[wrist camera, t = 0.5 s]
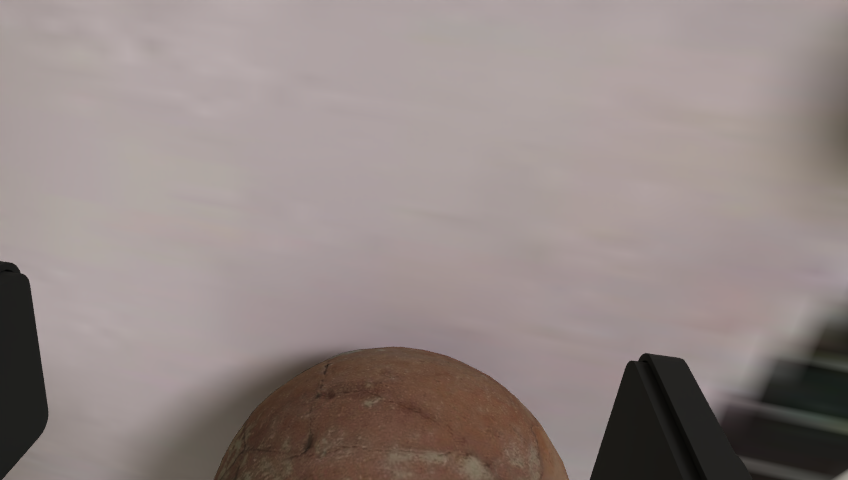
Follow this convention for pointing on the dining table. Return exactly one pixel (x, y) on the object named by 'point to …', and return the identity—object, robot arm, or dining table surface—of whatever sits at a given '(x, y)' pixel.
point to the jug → (391, 425)
